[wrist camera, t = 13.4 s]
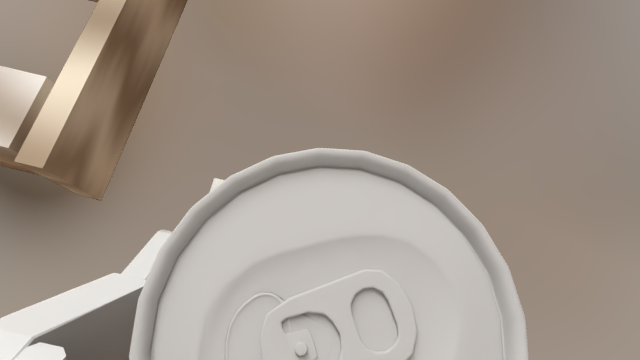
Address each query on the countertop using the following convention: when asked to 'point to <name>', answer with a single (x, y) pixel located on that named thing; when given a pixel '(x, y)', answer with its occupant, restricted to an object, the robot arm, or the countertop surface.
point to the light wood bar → (19, 110)
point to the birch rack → (100, 94)
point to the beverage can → (329, 270)
